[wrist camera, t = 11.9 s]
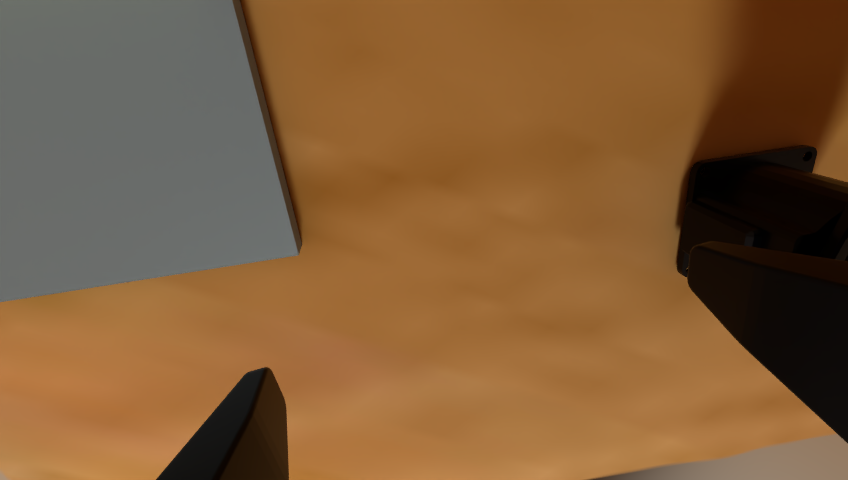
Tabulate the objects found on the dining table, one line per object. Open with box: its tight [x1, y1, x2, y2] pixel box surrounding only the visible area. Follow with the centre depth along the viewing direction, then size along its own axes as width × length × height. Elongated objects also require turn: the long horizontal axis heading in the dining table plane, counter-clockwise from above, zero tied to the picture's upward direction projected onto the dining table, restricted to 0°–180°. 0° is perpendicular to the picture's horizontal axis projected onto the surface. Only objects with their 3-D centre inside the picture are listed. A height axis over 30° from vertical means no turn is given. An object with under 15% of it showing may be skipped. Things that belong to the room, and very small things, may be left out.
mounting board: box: [0, 0, 302, 302], centre depth 16 cm, size 14×21×1 cm, turn 6°
